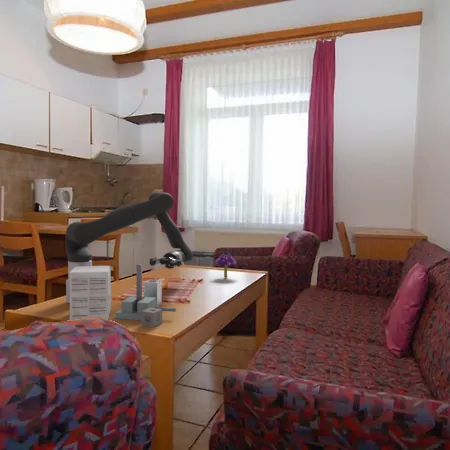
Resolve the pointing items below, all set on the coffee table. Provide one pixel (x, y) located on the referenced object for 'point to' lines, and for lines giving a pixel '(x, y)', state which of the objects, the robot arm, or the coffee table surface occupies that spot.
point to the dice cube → (151, 317)
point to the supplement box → (90, 292)
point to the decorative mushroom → (226, 261)
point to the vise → (138, 301)
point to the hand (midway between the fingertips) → (160, 264)
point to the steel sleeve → (153, 290)
